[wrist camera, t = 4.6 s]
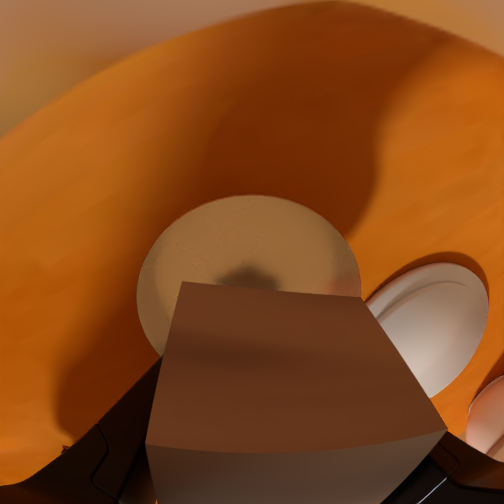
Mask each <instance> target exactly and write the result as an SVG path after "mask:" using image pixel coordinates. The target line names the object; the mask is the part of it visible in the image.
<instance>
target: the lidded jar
mask: <svg viewBox="0 0 504 504" xmlns="http://www.w3.org/2000/svg"><path fill="white" fill-rule="evenodd" d="M468 414H469V416H468V419H467V424H466V442H467V444H469V445H470V446H472V447H474V448H475V449H477V450H479V451H481V452H482V453H484V454H486V455H488V456H489V457H491V458H493V459H495V460H497V461H500V462H504V375H502V376H499V377H497V378H496V379H494V380H493V381H491V382H490V383H489V384H488V385H487V386H485V387H484V388H483V389H482V390H481V392H480V393H479V394H478V395H477V396H476V397H475V399H474V400H473V402H472V403H471V405H470V407H469V410H468Z"/></svg>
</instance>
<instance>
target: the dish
mask: <svg viewBox="0 0 504 504" xmlns="http://www.w3.org/2000/svg"><path fill="white" fill-rule="evenodd" d="M365 304H366V305H367V307H368V308H369V310H370V311H371V312H372V314H373V315H374V317H375V318H376V319H377V321H378V322H379V324H380V325H381V327H382V328H383V330H384V331H385V332H386V334H387V335H388V337H389V338H390V340H391V341H392V343H393V344H394V346H395V347H396V348H397V350H398V351H399V353H400V354H401V356H402V357H403V359H404V360H405V362H406V363H407V365H408V366H409V368H410V369H411V371H412V372H413V374H414V376H415V377H416V379H417V380H418V382H419V383H420V385H421V386H422V388H423V389H424V391H425V393H426V394H427V396H428V397H429V398H431V397H433V396H434V395H436V394H437V393H439V392H440V391H441V390H443V389H444V388H445V387H446V386H448V385H449V384H450V383H451V382H452V381H453V380H454V379H455V378H456V377H457V376H458V375H459V374H460V373H461V372H462V370H463V369H464V368H465V367H466V365H467V364H468V362H469V361H470V360H471V358H472V356H473V355H474V353H475V351H476V349H477V347H478V345H479V343H480V341H481V338H482V336H483V333H484V330H485V327H486V323H487V318H488V296H487V292H486V289H485V287H484V285H483V283H482V281H481V280H480V279H479V278H478V276H476V275H475V274H474V273H473V272H471V271H470V270H469V269H467V268H466V267H463V266H461V265H459V264H455V263H450V262H438V263H431V264H427V265H423V266H420V267H417V268H415V269H412V270H410V271H408V272H406V273H404V274H402V275H400V276H399V277H397V278H395V279H394V280H392V281H391V282H389V283H388V284H386V285H385V286H384V287H383V288H381V289H380V290H379V291H378V292H377V293H375V294H374V295H373V296H372V297H371V298H370V299H369V300H368V301H367V302H366V303H365Z"/></svg>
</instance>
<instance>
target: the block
mask: <svg viewBox="0 0 504 504" xmlns="http://www.w3.org/2000/svg"><path fill="white" fill-rule="evenodd" d="M447 430H448V428H447V426H446V425H445V423H444V421H443V420H442V418H441V417H440V415H439V413H438V412H437V410H436V408H435V407H434V405H433V404H432V402H431V400H430V399H429V397H428V396H427V394H426V393H425V391H424V389H423V388H422V386H421V385H420V383H419V382H418V380H417V379H416V377H415V376H414V374H413V372H412V371H411V369H410V368H409V366H408V365H407V363H406V362H405V360H404V359H403V357H402V356H401V354H400V353H399V351H398V350H397V348H396V347H395V346H394V344H393V343H392V341H391V340H390V338H389V337H388V335H387V334H386V332H385V331H384V330H383V328H382V327H381V325H380V324H379V322H378V321H377V319H376V318H375V317H374V315H373V314H372V312H371V311H370V310H369V308H368V307H367V305H366V304H365V303H364V301H363V300H362V298H361V297H352V296H338V295H324V294H311V293H299V292H287V291H276V290H265V289H254V288H243V287H233V286H223V285H214V284H204V283H195V282H186V281H182V283H181V287H180V290H179V294H178V298H177V302H176V306H175V310H174V314H173V318H172V322H171V326H170V330H169V334H168V338H167V342H166V347H165V351H164V355H163V360H162V364H161V368H160V373H159V377H158V382H157V387H156V391H155V396H154V401H153V406H152V410H151V415H150V421H149V426H148V431H147V436H146V441H145V446H146V452H147V457H148V462H149V467H150V472H151V477H152V481H153V486H154V490H155V494H156V499H157V503H158V504H380V503H381V502H382V501H383V500H384V499H385V498H386V497H388V496H389V495H390V494H391V493H392V492H393V491H394V490H395V489H396V488H397V487H398V486H399V485H400V484H401V483H402V482H403V481H404V480H405V479H406V478H407V476H408V475H409V474H410V473H411V472H412V471H413V470H414V469H415V468H416V467H417V466H418V465H419V463H420V462H421V461H422V460H423V459H424V458H425V457H426V455H427V454H428V453H429V452H430V451H431V450H432V448H433V447H434V446H435V445H436V444H437V442H438V441H439V440H440V439H441V437H442V436H443V435H444V434H445V432H446V431H447Z"/></svg>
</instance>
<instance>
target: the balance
mask: <svg viewBox="0 0 504 504" xmlns="http://www.w3.org/2000/svg"><path fill="white" fill-rule="evenodd" d="M182 281H186V282H195V283H204V284H214V285H223V286H233V287H243V288H254V289H265V290H276V291H287V292H299V293H311V294H324V295H338V296H352V297H361V279H360V274H359V268H358V265H357V262H356V259H355V257H354V255H353V253H352V251H351V249H350V247H349V245H348V243H347V242H346V241H345V239H344V238H343V237H342V235H341V234H340V233H339V232H338V231H337V230H336V229H335V228H334V227H333V226H332V225H331V224H330V223H329V222H328V221H327V220H326V219H325V218H324V217H322V216H321V215H320V214H318V213H317V212H315V211H314V210H312V209H311V208H309V207H307V206H305V205H303V204H301V203H299V202H296V201H293V200H291V199H288V198H285V197H280V196H275V195H271V194H260V193H244V194H233V195H228V196H223V197H218V198H216V199H213V200H210V201H207V202H204V203H202V204H200V205H198V206H196V207H194V208H192V209H190V210H188V211H187V212H185V213H184V214H182V215H181V216H180V217H178V218H177V219H175V220H174V221H173V222H172V223H171V224H170V225H169V226H168V227H167V228H166V229H165V230H164V231H163V232H162V233H161V235H160V236H159V237H158V238H157V240H156V241H155V242H154V244H153V246H152V247H151V249H150V251H149V253H148V254H147V256H146V258H145V260H144V263H143V265H142V268H141V271H140V274H139V279H138V283H137V295H136V301H137V310H138V315H139V319H140V323H141V326H142V328H143V330H144V333H145V335H146V337H147V339H148V340H149V342H150V344H151V345H152V347H153V348H154V349H155V350H156V352H157V353H158V354H159V355H160V356H161V357H162V356H163V355H164V351H165V347H166V342H167V338H168V334H169V330H170V326H171V322H172V318H173V314H174V310H175V306H176V302H177V298H178V294H179V290H180V287H181V283H182Z"/></svg>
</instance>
